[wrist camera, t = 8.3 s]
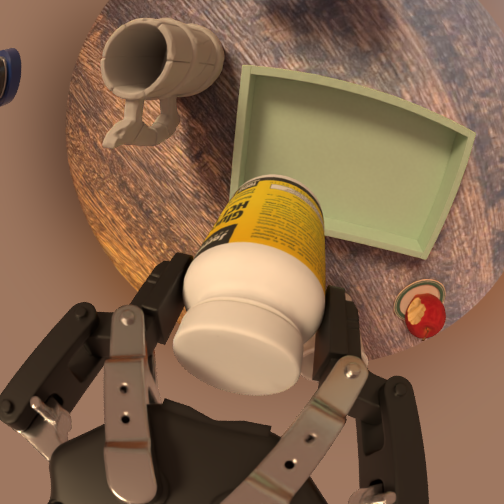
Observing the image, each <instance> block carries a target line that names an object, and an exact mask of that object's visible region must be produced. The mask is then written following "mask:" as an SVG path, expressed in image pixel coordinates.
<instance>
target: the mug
mask: <svg viewBox="0 0 504 504" xmlns="http://www.w3.org/2000/svg"><path fill="white" fill-rule="evenodd" d="M102 56H103V57H105V58H102V59H101V73H102V77H103V80H104V83H105V85H106V86H107V88H108V89H109V90H110V91H113V94H115V95H116V96H118V97H120V98H123V99H126V104H125V111H124V119H123V120H121V121H119V122H117V123H116V124H115V125H114V126H113V127H112V128H111V130H110V131H109V132H108V133H107V134H106V136H105V138H104V140H103V147H106V148H116V147H118V146H120V145H123V144H124V145H137V146H156V145H158V144H160V143H161V142H163V141H164V140H165V139H168V138H169V137H170V136H171V135H172V134H173V133H174V132H175V131H176V127H177V126H178V124H179V123H180V117H179V115H178V112H177V106H176V97H188V96H192V95H195V94H198V93H200V92H202V91H204V90H205V89H207V88H208V87H209V86H211V85H212V84H213V82H214V81H215V80H216V79H217V78H218V77H219V75H220V73H221V71H222V68H223V67H222V66H223V61H224V59H225V56H224V50H223V47H222V44H221V42H220V40H219V39H218V37H217V36H216V35H215V34H214V33H213V32H212V31H210V30H209V29H207V28H205V27H203V26H199V25H197V24H184V23H182V22H180V21H177V20H174V19H172V18H160V19H152V18H139V19H136V20H132V21H130V22H128V23H126V24H124V25H122V26H121V27H119V28H118V29H117V30H116V31H115V32H114V33H113V34H112V36H111V37H110V38H109V40H108V41H107V43H106V45H105V48H104V50H103V55H102ZM144 99H145V100H157V99H160V110H161V114H160V115H158V117H157V118H156V120H155V122H154V123H153V124H152V126H150V127H148V126H147V125H146V124H145V123H144V122H142V112H143V104H144Z"/></svg>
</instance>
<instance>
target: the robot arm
mask: <svg viewBox="0 0 504 504" xmlns="http://www.w3.org/2000/svg"><path fill="white" fill-rule="evenodd" d="M7 80H8V65H7V61H6V59H5V58H4V57H3V56H0V100H1V98H2V97H3V95H4V93H5V90H6V86H7ZM192 261H193V256H192V255H187V254H183V253H179V252H177V253H176V254H175V255H174V256H173V258H172V259H171V261H170V262H169V261H163V262H162V263H160V264H159V265H157V266H156V267H155V268H154V270H153V271H152V273H151V275H149V277H148V278H147V280H146V282H145V283H144V284H143V285H142V287H141V288H140V290H139V291H138V293H137V294H136V296H135V297H134V299H133V300H132V302H131V303H130V304H129V305H124V306H121V307H119V308H118V309H117V310H116V311H115V312H112V313H111V312H110V313H109V312H96V309H95V307H94V306H93V305H92V304H90V303H87V302H82V303H78V304H76V305H74V306H73V307H72V308H71V309H70V310H69V311H68V312H67V313H66V314H65V315H64V317H63V318H62V319H61V320H60V321H59V323H57V324H56V325H55V327H54V328H53V329H52V330H51V331H50V332H49V334H48V335H47V336H46V337H45V338H44V339H43V341H42V342H41V343H40V344H39V345H38V346H37V348H36V349H35V350H34V351H33V353H32V354H31V355H30V356H29V357H28V359H27V360H26V361H25V363H24V364H23V365H22V366H21V368H20V369H19V370H18V371H17V373H16V374H15V375H14V377H13V378H12V379H11V381H10V382H9V383H8V385H7V386H6V388H5V389H4V390H3V392H2V393H1V395H0V420H1V421H2V422H4V423H5V424H7V425H8V426H10V427H11V428H12V429H13V430H15V431H17V432H18V433H19V434H21V435H23V436H24V437H25V438H26V440H28V442H29V443H30V444H31V445H32V446H33V447H34V448H35V449H36V450H37V451H38V452H39V453H40V454H41V455H42V456H44V457H45V458H46V459H47V460H48V461H49V471H50V478H51V496H50V500H49V502H48V504H328V503H327V502H326V500H325V499H324V497H323V496H322V494H321V492H320V491H319V489H318V488H317V486H316V485H315V483H314V482H313V480H312V478H311V477H310V475H311V473H312V472H313V471H314V470H315V468H316V467H317V465H318V464H319V463H320V461H321V460H322V458H323V457H324V456H325V454H326V453H327V451H328V450H329V448H330V447H331V445H332V444H333V442H334V441H335V439H336V437H337V436H338V435H339V433H340V431H341V430H342V428H343V427H344V425H345V423H346V416H347V415H348V416H351V417H353V418H356V427H357V442H358V456H359V457H358V458H359V482H360V483H359V484H360V489H358V490H357V491H355V492H354V493H353V494H352V495H351V497H350V498H349V501H348V504H429V497H428V482H427V471H426V461H425V453H424V446H423V439H422V433H421V427H420V422H419V416H418V411H417V405H416V401H415V396H414V392H413V388H412V385H411V384H410V382H409V381H408V380H407V379H405V378H404V377H401V376H393V377H391V378H389V379H388V380H386V379H384V378H381V377H379V376H376V375H374V374H373V373H371V372H370V371H369V370H368V368H367V365H366V364H365V363H364V361H363V360H362V357H361V341H360V330H359V322H358V321H359V317H358V310H357V308H356V306H355V304H354V303H353V301H348V300H346V296H345V289H344V288H341V287H336V286H331V285H329V286H328V287H327V289H326V292H325V310H324V316H323V319H322V322H321V325H320V327H319V328H318V330H317V332H316V333H315V349H314V362H313V374H312V380H314V381H319V386H318V390H317V391H316V392H315V394H314V395H313V396H312V398H311V399H310V401H309V402H308V404H307V405H306V406H305V407H304V409H303V410H302V411H301V413H300V414H299V415H298V417H297V418H296V419H295V421H294V422H293V423H292V424H291V425H290V426H289V428H288V429H287V430H286V431H285V433H284V434H283V435H282V436H281V437H280V436H278V435H276V434H274V433H272V432H270V430H271V426H268V425H262V424H257V423H252V422H247V421H216V420H213V419H211V418H209V417H207V416H205V415H204V414H202V413H200V412H198V411H197V410H195V409H193V408H191V407H190V406H186V405H184V404H180V403H177V402H174V401H171V400H168V399H164V402H163V404H162V402H161V397H160V393H159V389H158V382H157V372H156V361H155V350H154V349H155V347H156V345H157V343H161V344H164V345H165V344H166V342H167V340H168V338H169V336H170V334H171V332H172V330H173V328H174V326H175V324H176V322H177V320H178V318H179V316H180V314H181V312H182V310H183V308H184V306H185V305H184V301H183V295H182V289H183V281H184V278H185V275H186V273H187V270H188V267H189V266H190V264H191V262H192ZM103 366H104V421H105V424H103V425H101V426H99V427H97V428H95V429H93V430H91V431H88V432H86V433H84V434H82V435H80V436H78V437H76V438H73V439H71V440H69V441H68V432H69V431H70V430H71V428H72V425H71V416H70V412H71V411H72V410H73V408H74V407H75V405H76V404H77V402H78V401H79V400H80V398H81V397H82V395H83V394H84V392H85V391H86V389H87V388H88V387H89V385H90V384H91V382H92V381H93V380H94V378H95V377H96V376H97V374H98V373H99V371H100V370H101V369H102V367H103Z"/></svg>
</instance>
